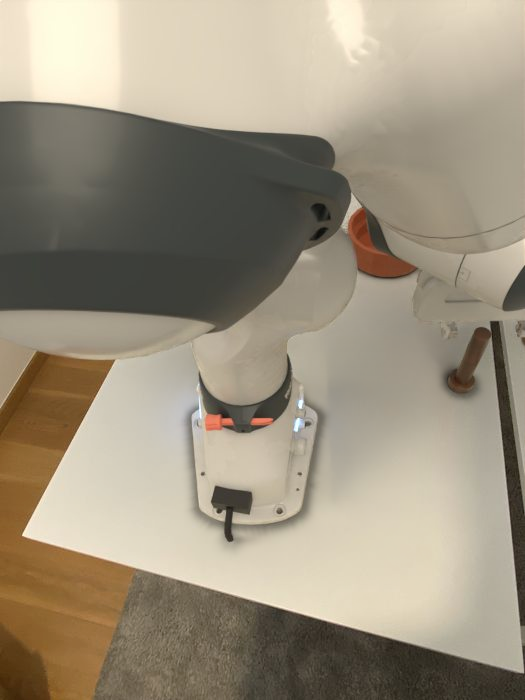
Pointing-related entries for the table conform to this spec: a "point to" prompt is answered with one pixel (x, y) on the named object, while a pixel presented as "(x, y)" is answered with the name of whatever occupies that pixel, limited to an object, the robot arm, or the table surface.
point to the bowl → (373, 251)
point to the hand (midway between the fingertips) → (484, 333)
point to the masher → (469, 362)
